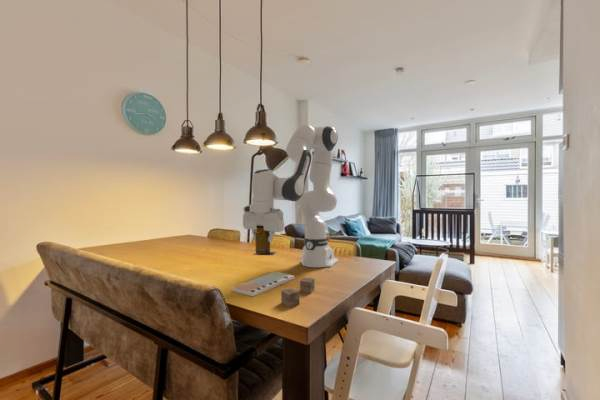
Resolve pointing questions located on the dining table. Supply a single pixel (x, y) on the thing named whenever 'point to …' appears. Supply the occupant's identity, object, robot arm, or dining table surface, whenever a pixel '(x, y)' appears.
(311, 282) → the walnut block
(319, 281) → the dining table surface
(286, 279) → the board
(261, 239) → the condiment
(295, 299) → the walnut block
